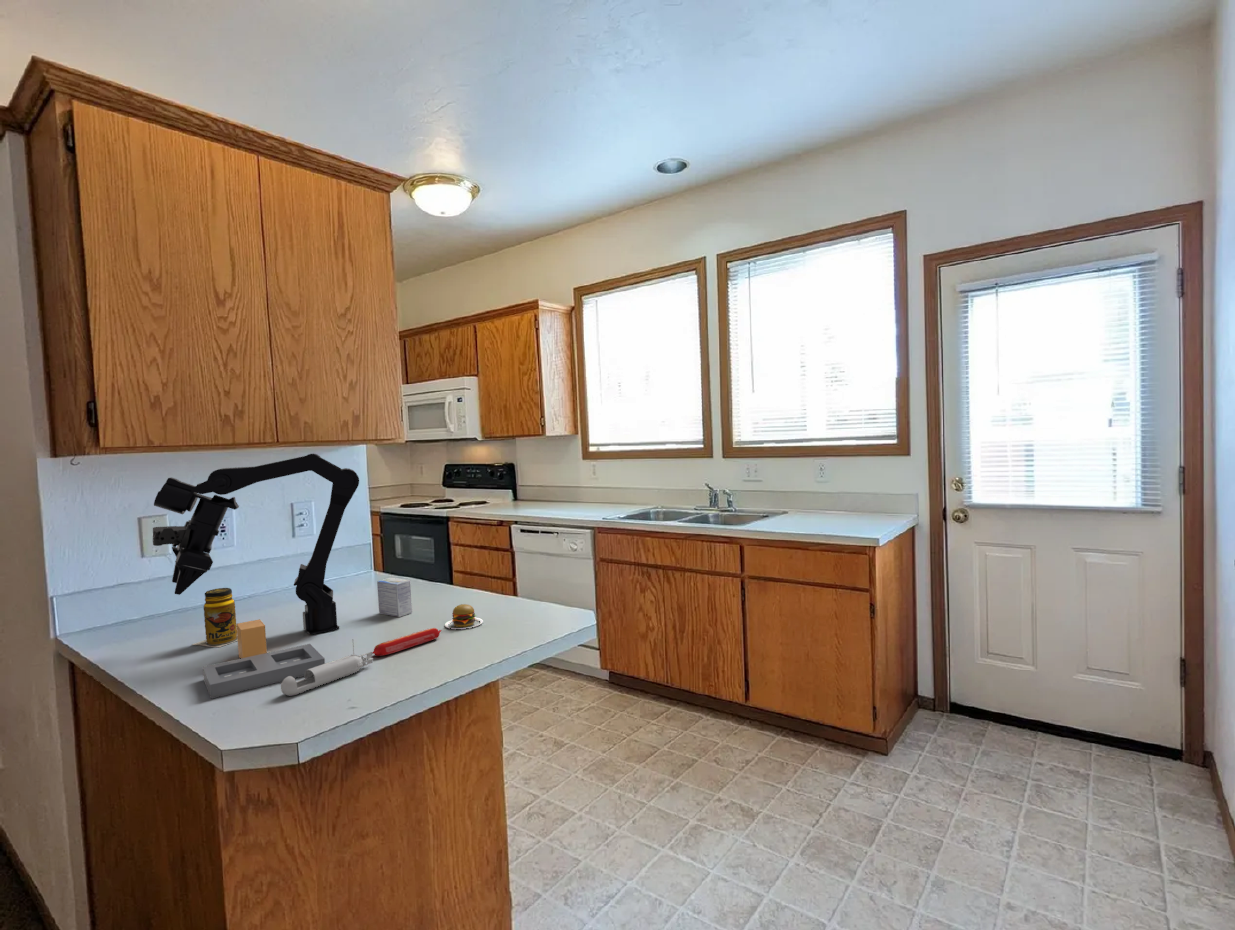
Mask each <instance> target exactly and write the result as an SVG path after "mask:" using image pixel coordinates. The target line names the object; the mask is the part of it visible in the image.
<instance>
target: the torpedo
mask: <svg viewBox="0 0 1235 930" xmlns="http://www.w3.org/2000/svg"><path fill="white" fill-rule="evenodd" d="M352 641H354V639H352ZM354 647H355V646H354V643H352V651H353V653H352V654H350V655H347V656H344V657H340V658H338V659H335V660H333V661H329V662H325V664H322V665H319V666H317V667H314V668H311V669H308V670H306V671H305V676H304V679H301V680H298V681H297V680H296V678H293V677H292V676H288V677H286V678H285V679H284V680H283V681H282V682H281V683H280V690H281V693H282V694H283V695H286V696H287V697H289V696H290V697H291V696H296V695H300V694H302V693H305V692H307V691H306V690H308V691H310V690H309V689H311V690H313V689H315V687H316V688H318V686H319V687H321V686H324V685H327V684H329V683H331V681H332V682H334V680H335V681H337V679H338V680H340V679H343V678H345V676H346V677H349V676H351V675H354V674H356V673H358V672H359V671H360V669H361V668H362V667H366V666H368V665H370V664H372V663H373V660H374V659H375V658H373V654H372V652H373V651H370V652H368V653H366V652H365V653H363V654H360V655H357V654H355V649H354ZM364 656H365V657H364ZM357 671H358V672H357ZM355 672H356V673H355ZM353 673H354V674H353ZM350 674H351V675H350ZM342 677H343V678H342ZM339 678H340V679H339ZM326 683H327V684H326ZM323 684H324V685H323ZM320 685H321V686H320ZM304 691H305V692H304ZM299 693H300V694H299Z"/></svg>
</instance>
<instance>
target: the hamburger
mask: <svg viewBox="0 0 1235 930" xmlns="http://www.w3.org/2000/svg"><path fill="white" fill-rule="evenodd" d="M451 616H452V619H451V620H448V621H446V622H445V624H444V627H445V628H448V629H450V628H451V630H456V629H461V630H467V629H466V628H469V629H472V627H473V628H476V627H478V626H480V625H481V624H483V623H484V620H483V619H482V618H480V617H477V615H476V613H475V609H474V607H473V606H472V605H470V604H466V603H463V604H462V603H461V604H459V605H456V606H455V607H454V608H453V610H452V614H451ZM478 621H480V624H479V623H478V624H476V625H474V624H475V622H478ZM451 622H453V623H451ZM450 623H451V624H453V626H454V627H449V626H448V624H450ZM451 624H450V625H451ZM471 625H472V626H471ZM473 625H474V626H473ZM468 626H469V627H468ZM459 627H463V628H459Z"/></svg>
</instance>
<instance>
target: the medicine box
mask: <svg viewBox="0 0 1235 930" xmlns="http://www.w3.org/2000/svg"><path fill="white" fill-rule="evenodd" d="M411 587H412V585H411V580H410V579H404V578H397V577H387V578H384V579H380V580H378V581H377V599H378V602H377V603H378V613H379V614H382V615H385V616H386V615H387V616H392V617H398V618H401V617H404V616H406V615H410V614H412V613H413V603H412V588H411Z"/></svg>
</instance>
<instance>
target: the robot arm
mask: <svg viewBox="0 0 1235 930" xmlns="http://www.w3.org/2000/svg"><path fill="white" fill-rule="evenodd" d="M309 471H310V472H313V473H315V474H317V475H318V476H320V477H321V478H323V479H325V480H326V481H329V482H331V483H332V485H331V491H330V492H331V493H330V500H329V504H328V505H329V506H328V509H327V511H326V513H325V516H324V520H323V522H322V526H321V529H320V530H319V531H320V532H319V534H318V536H317V541H316V543H315V546H314V548H313V552H312V554H311V557H310V559H309V561H308V562H307V564H303V563H301V564H300V565H299V568H298V574H297V576H296V578H295V580H294V583H293V586H294V587H295V595H296V596H297V598H298V599H299V600H301V601H303V602H305V604H304V611H303V612H302V623H303V624H302V625H303V630H304V631H305V632H307V634H309V635H316V634H322V633H326V632H327V633H328V632H331V631H337V630H340V626H339V625H338V619H337V618H338V616H337V603H336V601H335V600H334V590H333V589H332V588H331V587H329V586H328V585H326V583H325V577H326V576H325V575H326V570H327V563H328V561H329V557H330V554H331V551H332V548H333V545H334V543H335V539H336V536H337V534H338V531H339V528H340V525H341V522H342V519H343V515H344V514H345V510H346V508H347V506H348V505H349V503H350V501H351V499H352V498H353V496H354V494H355V492H356V491H357V489H358V487H359V485H360V478H359V475H358V474H357V472H356V471H355V470H353V469H351V468H347V467H346V468H345V467H344V468H342V467H340V466H338V465H335V464H333V463H332V462H330V461H328V460H326V459H325V458H322V457H321V456H320V455H319V454H317V453H315V452H313V453H308V454H307V455H303V456H298V457H294V458H289V459H283V460H279V461H274V462H271V463H266V464H265V463H264V464H260V465H257V466H241V467H240V466H238V467H237V466H236V467H223V468H218V469H216V470H213V471H212V472H211V473H209V475H208V476H207V480H206V481H203V482H200V483H197V484H196V485H193V484H191V483H188V482H184V481H181V480H179V479H177V478H175V477H167V479H166V481H165V482H164V484H163V486H162V487H161V489H160V491H157V494H156V497H155V498H154V501H153V506H154V507H157V508H160V509H163V510H166V511H171V512H174V513H177V514H179V515H184V514H185V513H186V512H189V513H191V512H192V511H193V509H194V508H195V509H194V511H193V513H192V516H191V518H190V519H188V521H185V524H184V526H183V525H178V526H177V525H173V526H171V525H170V526H169V525H168V526H167V525H166V526H154V527H152V545H153V546H156V547H157V546H159V547H161V546H163V545H171V546H172V547H171V549H172V552H173V555H174V556H175V561H174V562H175V564H174V568H173V575H172V577H171V578H172V579H171V582H172V583H173V584H175V588H174V591H173V592H174V595H178V596H180V595H182V594H183V593H184V592H185V591H186V590H187V589H188V588H189V587H190V586H191V585H192V584H194V583H195V582H196V581H197V580H198V579H199V578H201V577H202V576H203V575H204V574H206V573H207V572H208V571H210V570H211V568H212V565H213V563H214V561H213V559H212V556H211V555H210V554H211V553H210V552H211V551H212V547H211V546H212V545H213V542H214V540H215V539H216V538H215V537H216V536H218V535H219V533H220V530H219V529H220V526H221V524H222V522H223V520H224V517H225V516H226V513H227V510H228V509H232V510H237V509H239V508H240V505H239V504H238V502H237V500H236V497H235V496H232V497H230V498H227V497H224V495H228V494H230V493H231V494H232V493H234V492H235V491H236V492H237V491H238V490H241V489H244V488H246V487H249V486H250V485H253V484H256V483H260V482H264V481H269V480H273V479H278V478H282V477H286V476H291V475H297V474H300V473H305V472H309ZM209 493H210V494H211V493H214V495H213V496H212V497H211V496H206V495H204V494H209ZM222 495H223V496H222ZM198 499H199V501H198ZM197 502H198V503H197Z"/></svg>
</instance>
